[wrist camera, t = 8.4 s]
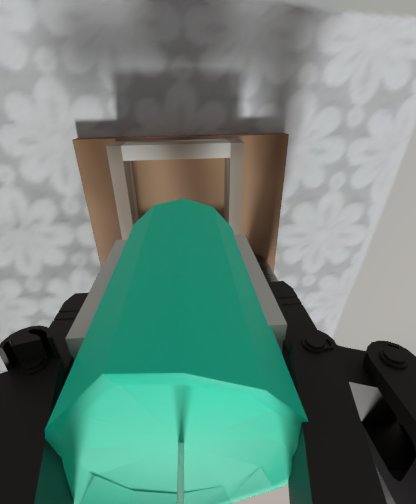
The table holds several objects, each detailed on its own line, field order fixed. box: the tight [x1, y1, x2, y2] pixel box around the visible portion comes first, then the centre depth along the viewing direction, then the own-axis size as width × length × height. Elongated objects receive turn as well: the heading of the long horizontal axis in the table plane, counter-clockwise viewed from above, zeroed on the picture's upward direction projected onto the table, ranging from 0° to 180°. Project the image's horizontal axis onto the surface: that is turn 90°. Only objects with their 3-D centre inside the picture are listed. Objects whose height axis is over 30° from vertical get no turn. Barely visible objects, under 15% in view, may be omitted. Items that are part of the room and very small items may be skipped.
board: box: [73, 133, 289, 273], centre depth 24 cm, size 17×15×4 cm
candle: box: [45, 198, 309, 504], centre depth 10 cm, size 6×6×12 cm
